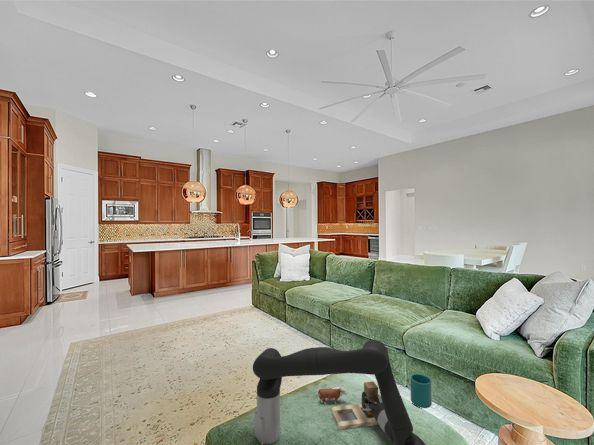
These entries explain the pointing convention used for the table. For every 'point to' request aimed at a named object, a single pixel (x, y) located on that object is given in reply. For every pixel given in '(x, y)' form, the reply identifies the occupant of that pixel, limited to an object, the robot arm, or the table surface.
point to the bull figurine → (331, 393)
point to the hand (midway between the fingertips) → (368, 393)
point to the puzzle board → (352, 417)
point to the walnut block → (371, 393)
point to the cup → (421, 390)
